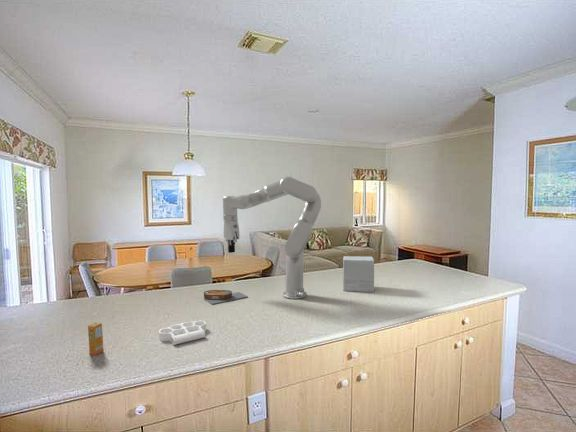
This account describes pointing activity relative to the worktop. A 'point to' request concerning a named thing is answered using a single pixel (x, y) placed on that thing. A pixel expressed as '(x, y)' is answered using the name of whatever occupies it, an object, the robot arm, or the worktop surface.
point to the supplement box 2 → (358, 273)
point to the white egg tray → (183, 332)
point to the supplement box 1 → (95, 338)
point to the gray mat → (234, 297)
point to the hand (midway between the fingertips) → (231, 252)
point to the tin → (217, 294)
